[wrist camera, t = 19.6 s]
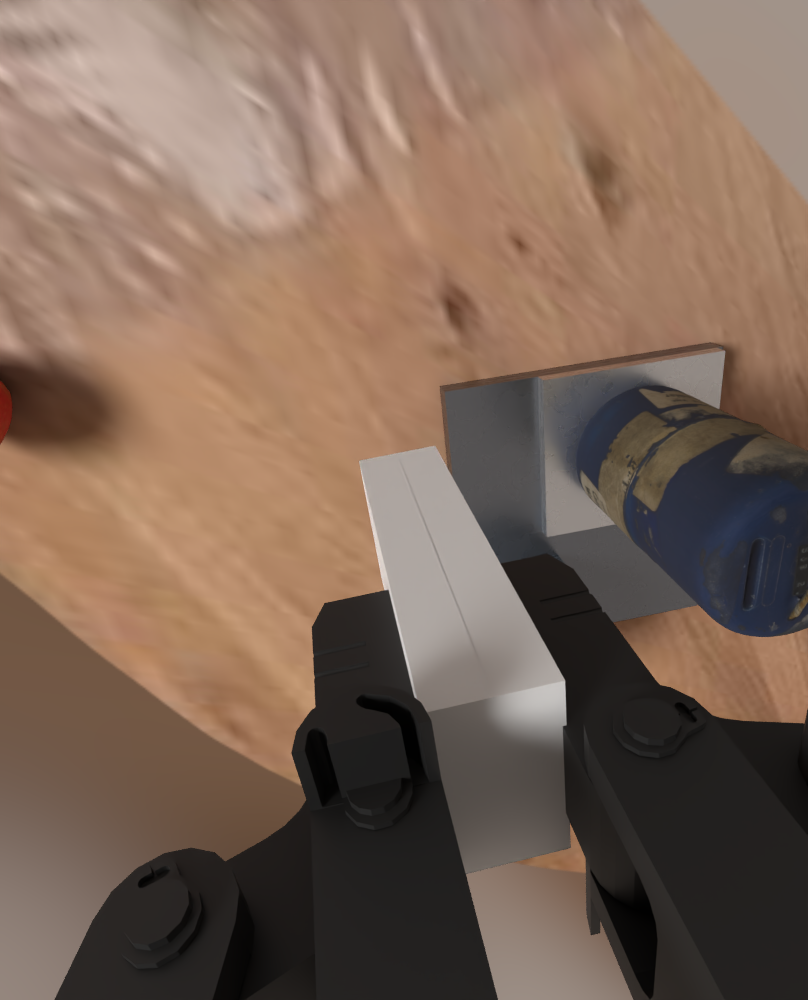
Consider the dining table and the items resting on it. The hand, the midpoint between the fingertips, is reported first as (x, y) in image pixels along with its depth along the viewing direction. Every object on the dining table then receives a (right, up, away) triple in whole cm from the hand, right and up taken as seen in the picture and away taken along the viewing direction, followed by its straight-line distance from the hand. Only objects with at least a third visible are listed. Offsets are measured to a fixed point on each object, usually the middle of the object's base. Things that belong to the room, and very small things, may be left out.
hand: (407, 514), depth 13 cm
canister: (+16, +4, +33) cm, 37 cm away
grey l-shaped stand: (+13, 0, +37) cm, 39 cm away
